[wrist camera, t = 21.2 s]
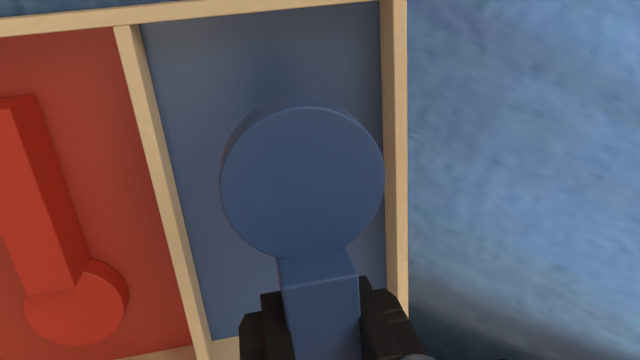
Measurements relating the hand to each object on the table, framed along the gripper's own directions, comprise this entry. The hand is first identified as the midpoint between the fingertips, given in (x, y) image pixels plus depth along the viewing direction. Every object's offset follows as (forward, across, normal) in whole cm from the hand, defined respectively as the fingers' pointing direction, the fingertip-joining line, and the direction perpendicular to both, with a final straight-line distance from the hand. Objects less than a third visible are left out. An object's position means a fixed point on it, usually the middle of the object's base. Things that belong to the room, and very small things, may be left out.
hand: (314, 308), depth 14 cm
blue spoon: (0, 0, 0) cm, 0 cm away
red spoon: (+9, +11, -1) cm, 14 cm away
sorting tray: (+10, +5, 0) cm, 11 cm away
